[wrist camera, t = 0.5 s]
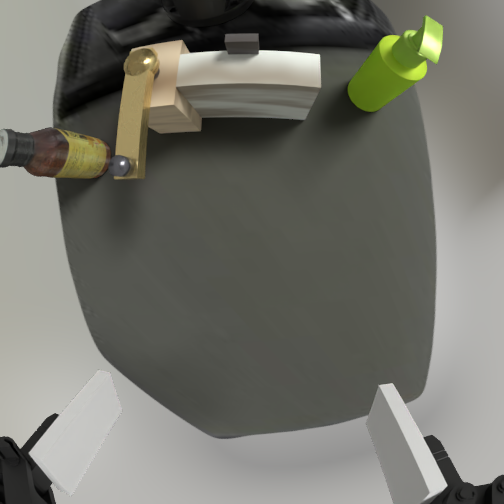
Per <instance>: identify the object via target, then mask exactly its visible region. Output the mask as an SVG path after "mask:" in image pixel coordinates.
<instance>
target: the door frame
mask: <svg viewBox="0 0 504 504" xmlns="http://www.w3.org/2000/svg"><path fill="white" fill-rule="evenodd" d="M225 45H226V48H227V51H212V52H199V53H190V52H189V51H188V49H187V47H186V45H185V44H184V42H183V40H178V41H171V42H165V43H159V44H153V45H148V46H143V47H138V48H134V49H132V50H131V51H136V50H138V49H142V48H151V47H153V49H154V50H155V51H156V52H157V53H158V57H157V58H158V59H159V61H160V66H159V69H158V71H157V73H156V74H155V75H154V82H153V89H152V96H151V104H150V113H149V123H148V127H150V128H151V129H153V130H155V131H157V132H158V133H160V134H162V133H176V132H195V131H201V124H202V118H211V117H261V118H283V119H298V120H305V119H306V117H307V115H308V113H309V111H310V109H311V107H312V105H313V103H314V101H315V99H316V97H317V95H318V93H319V91H320V89H321V72H320V55H318V54H309V53H299V52H286V51H264V50H259V36H258V34H225Z"/></svg>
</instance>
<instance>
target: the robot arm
mask: <svg viewBox="0 0 504 504" xmlns="http://www.w3.org/2000/svg"><path fill="white" fill-rule="evenodd" d="M253 1H254V0H162V4H163V8H164V10H165V11H166V13H167V15H168V16H169V17H170V18H171V19H172V20H173V21H174V22H176V23H178V24H181V25H185V26H191V27H205V26H212V25H217V24H221V23H224V22H227V21H229V20H231V19H234V18H236V17H237V16H239V15H241V14H242V13H243V12H245V11H246V10H247V9H248V8H249V7H250V6H251V4H252V3H253ZM121 412H122V407H121V404H120V401H119V398H118V395H117V392H116V389H115V386H114V383H113V379H112V376H111V373H110V372H106V371H102V370H98V371H97V372H96V373H95V374H94V375H93V376H92V378H91V379H90V380H89V381H88V382H87V383H86V384H85V386H84V387H83V388H82V389H81V390H80V392H79V393H78V394H77V395H76V396H75V397H74V398H73V400H72V401H71V402H70V403H69V404H68V406H67V407H66V408H65V409H64V410H63V411H62V413H61V414H60V415H58V414H56V413H55V414H53V415H51V416H49V417H48V418H46V419H45V421H44V422H43V423H42V424H41V426H40V427H39V428H38V429H37V431H35V432H34V434H33V435H32V436H31V437H30V438H29V440H28V441H27V442H26V443H25V445H24V446H23V447H22V448H21V449H19V447H18V446H17V444H16V443H15V442H14V440H13V439H11V438H10V437H5V436H4V437H0V504H56V502H55V499H54V494H53V491H52V489H51V487H50V485H51V484H52V483H53V484H54V485H55V486H56V487H57V489H59V490H60V491H62V492H64V493H66V494H68V495H70V496H72V494H73V493H74V491H75V489H76V487H77V486H78V484H79V482H80V480H81V479H82V477H83V475H84V474H85V472H86V470H87V469H88V467H89V465H90V464H91V462H92V460H93V458H94V457H95V455H96V453H97V452H98V450H99V448H100V447H101V445H102V443H103V442H104V440H105V438H106V437H107V435H108V433H109V432H110V430H111V428H112V427H113V425H114V424H115V422H116V420H117V419H118V417H119V416H120V414H121ZM366 425H367V428H368V431H369V433H370V436H371V439H372V442H373V444H374V447H375V450H376V453H377V456H378V459H379V461H380V464H381V467H382V470H383V473H384V475H385V479H386V482H387V485H388V488H389V491H390V494H391V497H392V500H393V503H394V504H504V475H501V476H498V477H497V478H496V479H495V480H494V481H493V482H492V483H490V484H486V485H480V486H473V485H472V484H470V483H468V482H466V483H465V482H463V481H462V480H461V478H460V476H459V474H458V473H457V471H456V469H455V467H454V465H453V463H452V461H451V460H450V458H449V457H448V454H447V453H446V451H445V449H444V447H443V445H442V444H441V442H440V441H439V440H438V439H437V438H435V437H434V436H433V435H430V436H426V437H423V436H422V435H421V433H420V431H419V429H418V427H417V425H416V424H415V422H414V420H413V418H412V416H411V414H410V413H409V411H408V409H407V407H406V405H405V404H404V402H403V400H402V398H401V397H400V395H399V393H398V392H397V390H396V388H395V386H394V385H393V383H391V384H384V385H379V387H378V390H377V393H376V396H375V399H374V402H373V405H372V408H371V411H370V413H369V416H368V419H367V422H366Z"/></svg>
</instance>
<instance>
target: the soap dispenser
mask: <svg viewBox="0 0 504 504" xmlns="http://www.w3.org/2000/svg"><path fill="white" fill-rule="evenodd" d="M442 39H443V26H442V25H440V24H439V23H437V22H436V21H434V20H433V19H431V18H429V17H428V16H426V15H425V16H424V17H423V25H422V27H421V28H420V29H419V30H418V31H414V30H407V31H405V32H404V33H403V34H402V35H401V36H396V35H389V36H386V37H384V38H383V39H382V40H381V41H380V42H379V44H378V45H377V46H376V48H375V49H374V50H373V52H372V53H371V54H370V56H369V57H368V58H367V60H366V61H365V62H364V64H363V65H362V66H361V68H360V69H359V70H358V72H357V73H356V74H355V76H354V77H353V78H352V80H351V81H350V82H349V84H348V95H349V97H350V99H351V101H352V102H353V103H354V104H355V105H356V106H357V107H358V108H360V109H362V110H364V111H368V112H374V111H377V110H379V109H381V108H382V107H383V106H385V105H386V104H387V103H389V102H390V101H391V100H393V99H394V98H395V97H397V96H398V95H400V94H401V93H402V92H404V91H405V90H406V89H408V88H409V87H411V86H412V85H413V84H415V83H416V82H417V81H419V80H420V79H422V78H423V77H424V76H425V74H426V71H427V64H426V59H429V60H431V61H432V62H434V63H435V64H437V63H438V60H439V56H440V52H441V47H442Z"/></svg>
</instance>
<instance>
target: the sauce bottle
mask: <svg viewBox="0 0 504 504" xmlns="http://www.w3.org/2000/svg"><path fill="white" fill-rule="evenodd" d="M110 160H111V151H110V148H109V146H108V145H107V144H106V143H105V142H103V141H101V140H100V139H97V138H93V137H90V136H86V135H82V134H78V133H74V132H71V131H65V130H62V129H58V128H51V127H50V128H45V129H42V130H38V131H35V132H31V133H20V132H14V131H13V130H11V129H2V130H0V167H8V166H18V167H24V168H25V169H26V170H27V171H28V172H29V173H30V174H32V175H34V176H40V177H41V176H46V177H52V178H88V179H90V178H97V177H99V176H101V175H102V174H103V173H104V172H105V171H106V170H107V169H108V165H109V162H110Z"/></svg>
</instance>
